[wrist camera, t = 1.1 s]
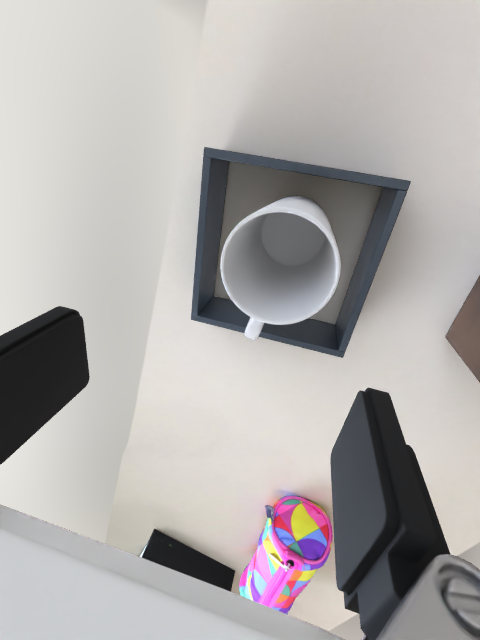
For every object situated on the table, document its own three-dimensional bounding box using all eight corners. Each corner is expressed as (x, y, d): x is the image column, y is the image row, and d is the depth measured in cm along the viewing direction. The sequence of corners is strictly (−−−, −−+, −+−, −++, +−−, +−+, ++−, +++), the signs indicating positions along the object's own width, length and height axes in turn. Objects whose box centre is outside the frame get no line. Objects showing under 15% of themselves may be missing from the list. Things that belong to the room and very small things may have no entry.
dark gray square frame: (223, 151, 25) (203, 146, 21) (394, 179, 23) (411, 181, 19) (208, 299, 32) (190, 319, 28) (339, 331, 30) (342, 358, 26)
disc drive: (235, 570, 57) (228, 603, 53) (197, 605, 68) (189, 634, 64) (154, 528, 57) (141, 557, 53) (130, 569, 68) (117, 596, 64)
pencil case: (270, 479, 43) (259, 548, 35) (335, 501, 42) (339, 577, 34) (244, 552, 53) (231, 617, 45) (295, 571, 52) (291, 641, 44)
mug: (273, 180, 25) (241, 186, 15) (346, 208, 25) (365, 235, 15) (237, 281, 30) (194, 340, 20) (297, 307, 30) (286, 379, 20)
